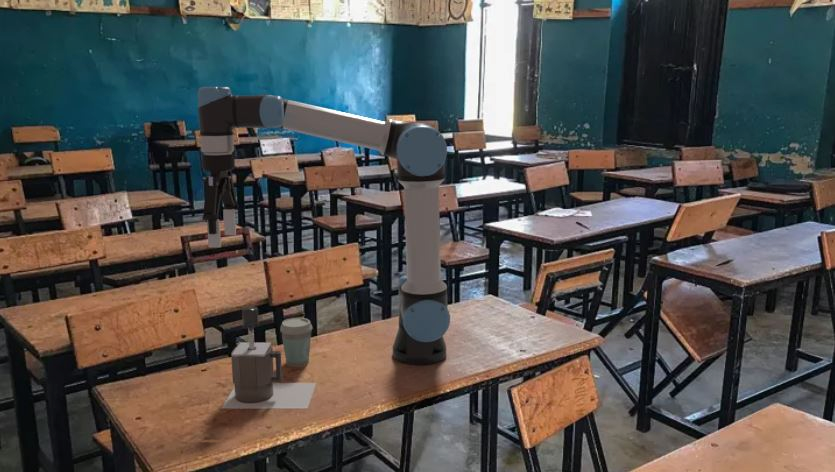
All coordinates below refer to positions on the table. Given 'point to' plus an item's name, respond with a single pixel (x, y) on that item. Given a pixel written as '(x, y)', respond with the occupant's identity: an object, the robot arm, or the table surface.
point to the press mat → (278, 397)
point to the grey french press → (255, 372)
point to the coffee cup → (296, 341)
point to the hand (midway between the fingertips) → (223, 240)
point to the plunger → (250, 323)
